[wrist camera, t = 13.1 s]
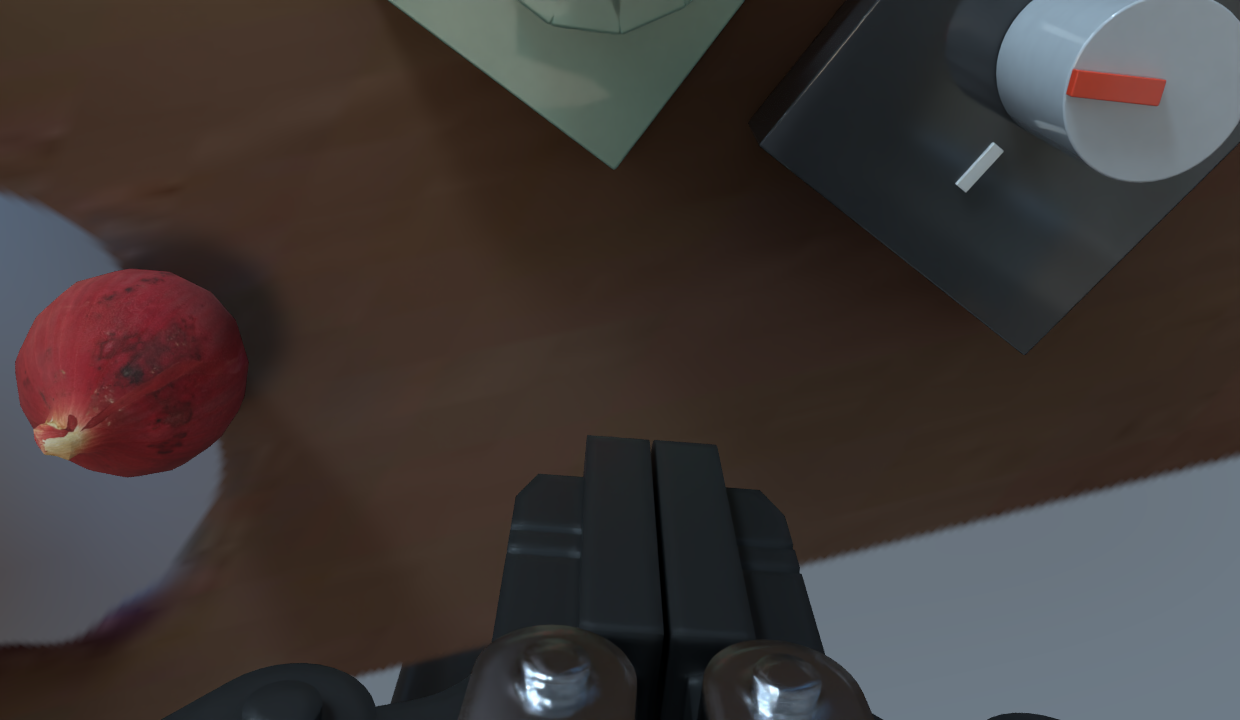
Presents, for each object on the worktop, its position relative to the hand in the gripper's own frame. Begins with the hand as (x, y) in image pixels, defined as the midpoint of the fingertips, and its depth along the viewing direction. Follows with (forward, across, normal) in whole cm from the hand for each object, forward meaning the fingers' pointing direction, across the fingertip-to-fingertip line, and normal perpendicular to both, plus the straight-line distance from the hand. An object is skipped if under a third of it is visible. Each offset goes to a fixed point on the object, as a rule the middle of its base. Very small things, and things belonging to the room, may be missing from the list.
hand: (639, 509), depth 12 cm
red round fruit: (+20, +13, +7) cm, 25 cm away
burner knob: (+16, -11, -4) cm, 20 cm away
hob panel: (+20, -11, -4) cm, 23 cm away
